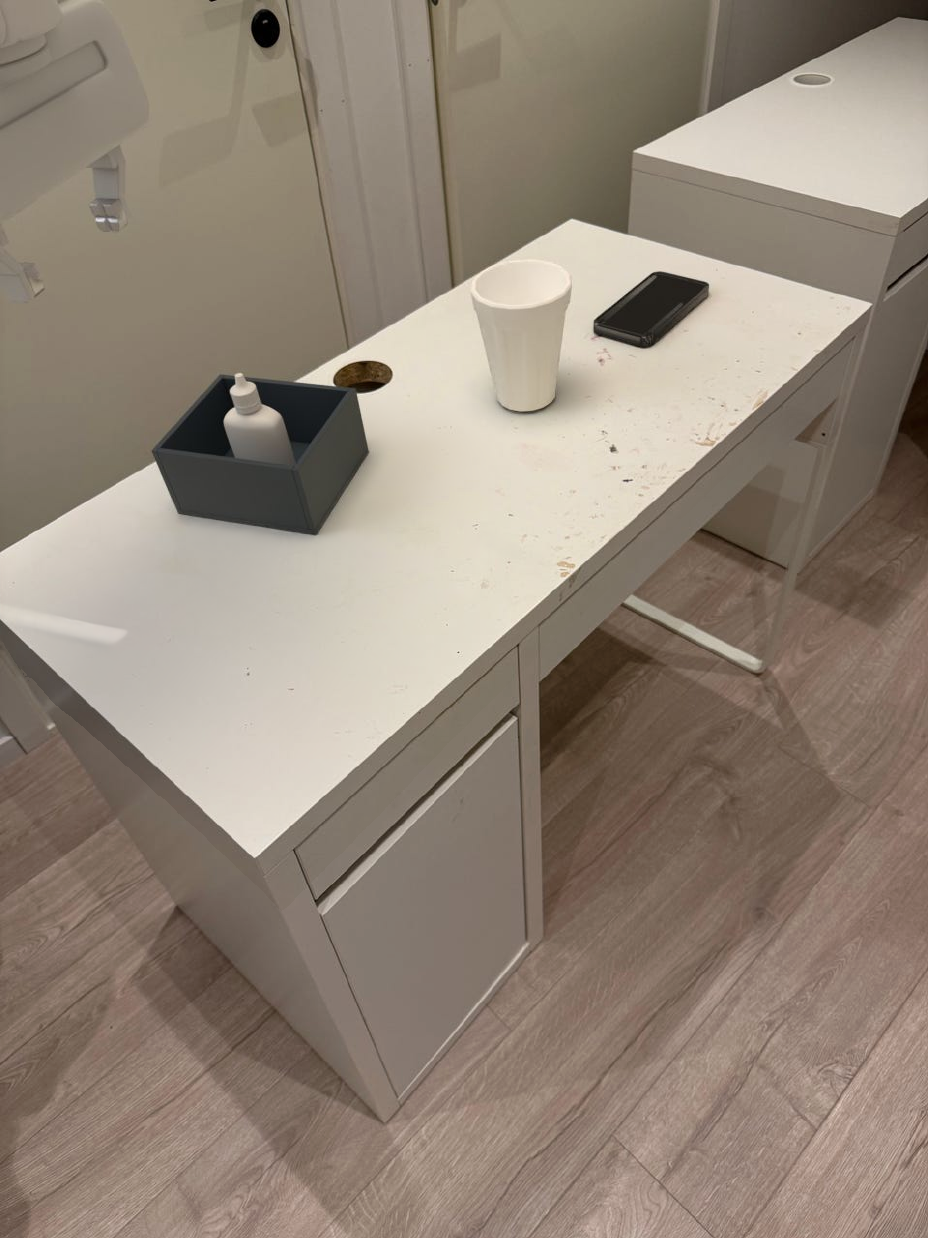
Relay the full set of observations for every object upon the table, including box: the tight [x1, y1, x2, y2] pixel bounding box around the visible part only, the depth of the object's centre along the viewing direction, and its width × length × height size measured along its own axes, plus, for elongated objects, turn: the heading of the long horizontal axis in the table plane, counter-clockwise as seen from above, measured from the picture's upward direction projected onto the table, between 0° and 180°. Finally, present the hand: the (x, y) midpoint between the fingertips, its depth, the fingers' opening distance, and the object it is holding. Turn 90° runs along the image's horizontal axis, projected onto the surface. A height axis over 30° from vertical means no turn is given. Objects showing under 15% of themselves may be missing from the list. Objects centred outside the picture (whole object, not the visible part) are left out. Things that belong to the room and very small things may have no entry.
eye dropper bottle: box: [224, 372, 296, 466], centre depth 84 cm, size 4×6×12 cm
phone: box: [592, 271, 710, 348], centre depth 105 cm, size 8×1×15 cm
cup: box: [470, 258, 573, 412], centre depth 91 cm, size 10×10×13 cm
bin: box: [151, 373, 370, 536], centre depth 87 cm, size 15×13×8 cm
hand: (74, 260), depth 55 cm, fingers open, 8 cm apart
